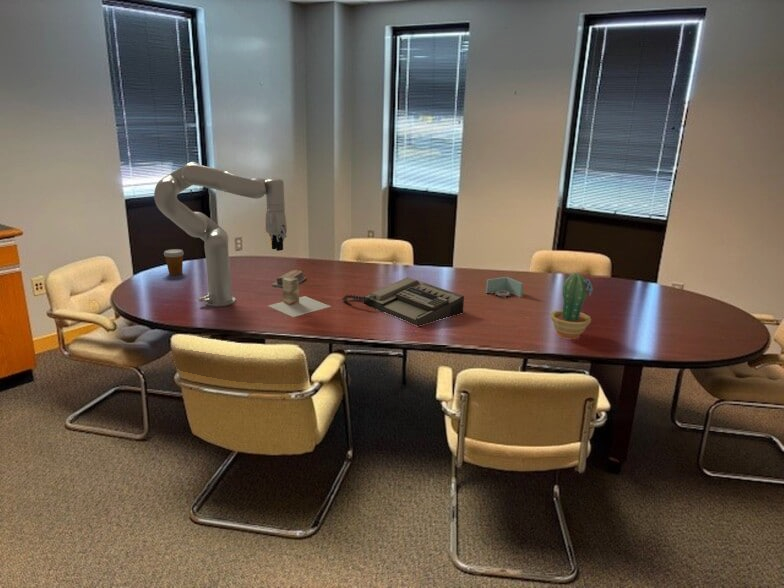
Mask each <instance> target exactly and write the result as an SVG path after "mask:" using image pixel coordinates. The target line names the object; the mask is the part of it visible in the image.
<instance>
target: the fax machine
mask: <svg viewBox="0 0 784 588" xmlns="http://www.w3.org/2000/svg"><path fill="white" fill-rule="evenodd" d="M341 299H342V300H343V301H346V302H350V303H351V302H363V305H364V304H366V305H365V306H367V305H368V306H367V307H369V306H370V308H371V307H373V308H372V309H374V308H375V309H374V310H376V309H378V310H380V311H379V312H381V311H383V312H386V313H388V314H391V315H393V316H396V317H398V318H401V319H403V320H406V321H408V322H410V323H412V324H415V325H417V326H419V325H423V324H426V323H430V322H433V321H436V320H439V319H443V318H446V317H450V316H453V315H456V316H458V315H457V314H459V315H461V314H460V313H463V314H464V306H465V305H464V303H465V296H464V295H461V294H459V293H456V292H452V291H450V290H447V289H444V288H441V287H437V286H436V285H432V284H428V283H426V282H423V281H420V280H418V279H414V278H411V277H408V276H407V277H405V278H403V279H400V280H397V281H396V282H393V283H390V284H389V285H385V286H384V287H382V288H379V289H377V290H375V291H373V292H371V293H369V294H367V295H365V296H360V295H352V294H350V295H348V294H346V295H344V296H343V298H341ZM349 299H350V300H349ZM378 310H377V311H378ZM383 312H382V313H383ZM388 314H387V315H388ZM393 316H392V317H393ZM453 317H454V316H453ZM450 318H451V317H450ZM443 320H444V319H443ZM430 324H431V323H430Z"/></svg>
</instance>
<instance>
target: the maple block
mask: <svg viewBox="0 0 784 588" xmlns="http://www.w3.org/2000/svg"><path fill="white" fill-rule="evenodd" d="M282 284H283V288H282V302H283V303H286V304H288V305H293V304H297V303H299V297H300V287H299V284H300V283H299V279H297V278H294V277H288V278H283V279H282Z"/></svg>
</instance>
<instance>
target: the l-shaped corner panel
mask: <svg viewBox="0 0 784 588" xmlns="http://www.w3.org/2000/svg"><path fill="white" fill-rule="evenodd" d="M523 288H524V283H523V282H521V281H518V280H516V279H513V278H511V277H508V276H503V277H497V278H490V279H486V286H485V289H486V290H485V294H486V293H491V292H496V293H494V295H495V296H496V295H498V296H502V297H501V298H507V297H506V296H508V297H509V296H510V295H511V294H510V293H513V294H515V295H517V296H519V297H522V298H523V291H524V290H523ZM505 290H506V291H505ZM507 291H508V292H507ZM501 293H505V294H501ZM491 294H492V293H491ZM515 295H514V296H515ZM517 296H516V297H517ZM519 297H518V298H519Z"/></svg>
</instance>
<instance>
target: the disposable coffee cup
mask: <svg viewBox="0 0 784 588" xmlns="http://www.w3.org/2000/svg"><path fill="white" fill-rule="evenodd" d="M184 254H185V253H184V251H183V249H179V248H175V249H174V248H171V249H167V250H164V252H163V255H164V257H165V261H166V266H167V271H168V273H169V275H170V276H180V275H182V274H183V267H184V266H183V265H184V264H183V260H184Z"/></svg>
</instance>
